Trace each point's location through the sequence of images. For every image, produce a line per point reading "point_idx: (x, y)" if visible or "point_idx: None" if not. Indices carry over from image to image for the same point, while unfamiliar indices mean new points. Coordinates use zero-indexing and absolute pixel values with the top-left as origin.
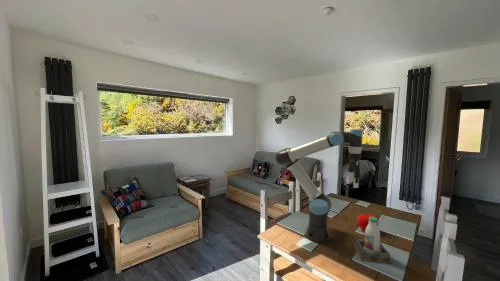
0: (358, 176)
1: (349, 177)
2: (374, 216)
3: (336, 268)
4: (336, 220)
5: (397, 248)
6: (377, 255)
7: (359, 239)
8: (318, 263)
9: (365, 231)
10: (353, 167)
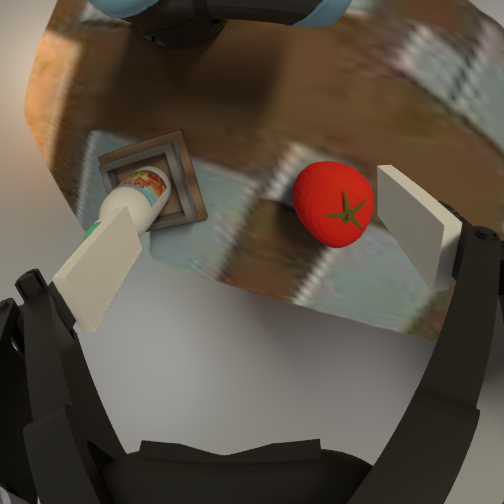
0: (12, 337)
1: (401, 196)
2: (336, 242)
3: (41, 101)
4: (373, 79)
5: (220, 260)
6: None
7: (173, 155)
8: (41, 58)
9: (117, 189)
10: (31, 424)
